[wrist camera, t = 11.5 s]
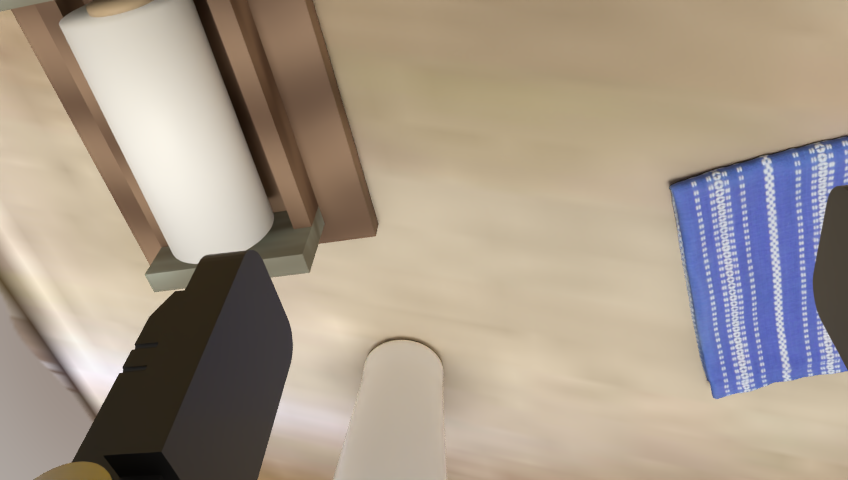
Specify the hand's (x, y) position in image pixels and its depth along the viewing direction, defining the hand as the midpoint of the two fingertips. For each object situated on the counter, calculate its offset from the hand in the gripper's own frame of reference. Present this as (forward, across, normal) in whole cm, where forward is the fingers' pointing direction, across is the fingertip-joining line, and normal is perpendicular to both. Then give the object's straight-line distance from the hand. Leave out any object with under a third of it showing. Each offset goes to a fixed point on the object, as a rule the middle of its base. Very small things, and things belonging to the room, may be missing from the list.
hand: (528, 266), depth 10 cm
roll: (+24, +16, +7) cm, 29 cm away
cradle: (+25, +16, +7) cm, 30 cm away
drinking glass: (+24, +10, +28) cm, 38 cm away
